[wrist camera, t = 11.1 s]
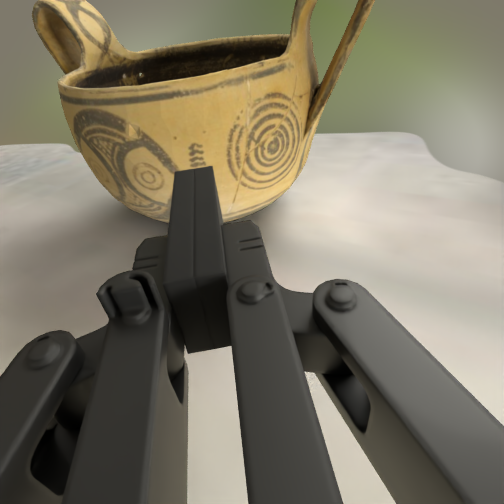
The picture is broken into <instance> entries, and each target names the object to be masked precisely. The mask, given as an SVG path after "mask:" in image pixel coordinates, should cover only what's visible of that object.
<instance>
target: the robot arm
mask: <svg viewBox="0 0 504 504" xmlns="http://www.w3.org/2000/svg"><path fill="white" fill-rule="evenodd" d="M134 260H135V262H134V264H133V268H132V269H133V270H132V271H127V272H123V273H120V274H117V275H116V276H114V277H112V278H110V279H108V280H107V281H106V282H105V283H104V284H103V285H102V286H101V287H100V288H99V290H98V292H97V293H96V295H97V297H98V299H99V301H100V303H101V304H102V306H103V308H104V310H105V312H106V314H107V315H108V317H109V322H108V324H107V325H106V326H104V327H102V328H100V329H98V330H96V331H93V332H91V333H89V334H86V335H84V336H82V337H79V338H77V339H75V338H74V336H73V335H72V334H71V333H69V332H67V331H62V330H58V331H51V332H48V333H45V334H43V335H40V336H38V337H37V338H35V339H34V340H32V341H31V342H29V343H28V344H26V345H25V346H24V347H23V349H22V350H21V351H20V352H19V353H18V354H17V355H16V356H15V358H14V359H13V360H12V362H11V363H10V364H9V366H8V367H7V368H6V370H5V371H4V372H3V374H2V375H1V376H0V504H187V449H188V368H187V364H186V361H185V358H184V344H185V346H186V349H187V352H188V354H190V353H195V352H200V351H206V350H211V349H217V348H222V347H227V346H232V354H233V363H234V373H235V382H236V391H237V401H238V410H239V419H240V429H241V438H242V447H243V456H244V466H245V475H246V484H247V494H248V503H249V504H343V502H342V498H341V495H340V491H339V488H338V485H337V481H336V478H335V474H334V471H333V468H332V464H331V461H330V458H329V454H328V451H327V447H326V444H325V441H324V437H323V434H322V430H321V427H320V424H319V420H318V417H317V414H316V410H315V407H314V403H313V400H312V397H311V393H310V390H309V386H308V383H307V380H306V376H305V373H304V371H306V372H314V373H315V374H316V376H317V378H318V379H319V381H320V382H321V384H322V386H323V387H324V389H325V390H326V392H327V394H328V395H329V397H330V398H331V400H332V402H333V403H334V405H335V406H336V408H337V409H338V411H339V413H340V414H341V416H342V417H343V419H344V421H345V422H346V424H347V425H348V427H349V429H350V430H351V432H352V433H353V435H354V437H355V438H356V440H357V441H358V443H359V445H360V446H361V448H362V449H363V451H364V453H365V454H366V456H367V457H368V459H369V461H370V462H371V464H372V465H373V467H374V468H375V470H376V472H377V473H378V475H379V476H380V478H381V480H382V481H383V483H384V484H385V486H386V488H387V489H388V491H389V492H390V494H391V496H392V497H393V499H394V500H395V502H396V504H504V426H503V425H502V424H501V423H500V422H499V421H498V420H497V419H496V418H495V417H494V416H493V415H492V414H491V413H490V412H489V411H488V410H487V409H486V408H485V407H484V406H483V405H482V404H481V403H480V402H479V401H478V400H477V399H476V398H475V397H474V396H473V395H472V394H471V393H470V392H469V391H468V390H467V389H466V388H465V387H464V386H463V385H462V384H461V383H460V382H459V381H458V380H457V379H456V378H455V377H454V376H453V375H452V374H451V373H450V372H449V371H448V370H447V369H446V368H445V367H444V366H443V365H442V364H441V363H440V362H439V361H438V360H437V359H436V358H434V357H433V356H432V355H431V354H430V353H429V352H428V351H427V350H426V349H425V348H424V347H423V346H422V345H421V344H420V343H419V342H418V341H417V340H416V339H415V338H414V337H413V336H412V335H411V334H410V333H409V332H408V331H407V330H406V329H405V328H404V327H403V326H402V325H401V324H400V323H399V322H398V321H397V320H396V319H395V318H394V317H393V316H392V315H391V314H390V313H389V312H388V311H387V310H386V309H385V308H384V307H383V306H382V305H381V304H380V303H379V302H378V301H377V300H376V299H375V298H374V297H373V296H372V295H371V294H370V293H369V292H368V291H367V290H366V289H365V288H363V287H362V286H361V285H359V284H358V283H355V282H352V281H349V280H342V279H334V280H330V281H326V282H324V283H322V284H320V285H319V286H318V287H317V288H316V289H315V291H314V292H313V293H304V292H295V291H291V290H288V289H285V288H284V287H282V286H280V285H279V284H278V283H277V282H276V281H275V279H274V277H273V275H272V271H271V268H270V264H269V261H268V257H267V254H266V250H265V247H264V244H263V240H262V237H261V233H260V230H259V227H258V226H257V225H256V224H254V223H253V222H252V221H251V220H247V221H242V222H236V223H230V224H224V223H223V218H222V212H221V207H220V202H219V197H218V191H217V186H216V181H215V176H214V171H213V166H207V167H201V168H194V169H188V170H182V171H176V172H175V173H174V182H173V191H172V200H171V209H170V218H169V227H168V235H165V236H159V237H153V238H147V239H145V240H144V241H143V242H142V243H141V245H140V246H139V247H138V248H137V251H136V255H135V259H134Z"/></svg>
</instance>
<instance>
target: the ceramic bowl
mask: <svg viewBox="0 0 504 504" xmlns="http://www.w3.org/2000/svg"><path fill="white" fill-rule="evenodd" d="M316 2H317V0H296V2H295V7H294V11H293V16H292V24H291V31H290V35H286V34H268V35H263V34H262V35H256V36H254V35H252V36H239V37H229V38H216V39H211V40H204V41H197V42H191V43H184V44H176V45H170V46H165V47H159V48H153V49H149V50H144V51H139V52H132V51H129V50H127V49H126V48H124V47H123V46H122V45H121V44H120V43H119V42H118V41H117V39H116V37H115V36H114V33H113V32H112V30H111V28H110V27H109V26H108V24H107V22H106V21H105V19H104V18H103V17H102V15H101V14H100V13H99V12H98V11H97V10H96V9H95V8H94V7H93V6H92V5H91V4H89V3H88V2H87V1H85V0H38V1H37V2H36V3H35V5H34V7H33V11H32V18H33V22H34V26H35V29H36V31H37V33H38V35H39V37H40V38H41V40H42V42H43V44H44V45H45V47H46V48H47V50H48V51H49V52H50V54H51V55H52V56H53V58H54V59H55V61H56V62H57V63H58V65H59V66H60V68H61V69H62V70H63V72H64V73H65V75H64V76H62V77H61V78H60V79H59V80H58V88H59V93H60V98H61V103H62V107H63V110H64V113H65V117H66V120H67V122H68V125H69V128H70V130H71V133H72V135H73V138H74V140H75V143H76V145H77V147H78V148H79V150H80V152H81V154H82V155H83V157H84V159H85V161H86V162H87V164H88V165H89V167H90V169H91V170H92V172H93V173H94V175H95V176H96V178H97V179H98V180H99V182H100V183H101V184H102V185H103V186H104V187H105V188H106V189H107V190H108V191H109V192H110V194H111V195H112V196H113V197H114V198H116V199H117V200H118V201H120V202H121V203H123V204H124V205H125V206H127V207H128V208H129V209H131V210H133V211H136V212H138V213H140V214H142V215H145V216H147V217H150V218H153V219H156V220H159V221H163V222H167V223H169V218H170V209H171V200H172V191H173V182H174V173H175V172H176V171H182V170H188V169H194V168H201V167H207V166H213V171H214V176H215V181H216V186H217V191H218V197H219V202H220V207H221V212H222V218H223V223H224V222H229V221H233V220H236V219H240V218H243V217H245V216H248V215H250V214H252V213H255V212H257V211H259V210H261V209H263V208H265V207H267V206H268V205H270V204H272V203H273V202H274V201H275V200H277V199H278V198H279V197H280V196H281V195H283V194H284V193H285V192H286V191H287V190H288V189H289V188H290V187H291V185H292V184H293V182H294V181H295V180H296V178H297V177H298V176H299V174H300V172H301V170H302V169H303V167H304V165H305V163H306V160H307V157H308V154H309V151H310V147H311V143H312V140H313V137H314V134H315V131H316V128H317V125H318V123H319V120H320V117H321V114H322V112H323V109H324V106H325V104H326V102H327V101H328V99H329V97H330V95H331V92H332V91H333V89H334V86H335V85H336V82H337V80H338V78H339V76H340V74H341V72H342V70H343V68H344V66H345V64H346V62H347V59H348V57H349V55H350V53H351V51H352V49H353V47H354V45H355V43H356V41H357V39H358V37H359V35H360V32H361V30H362V28H363V26H364V24H365V22H366V20H367V18H368V16H369V13H370V11H371V8H372V6H373V4H374V2H375V0H359V1H358V3H357V5H356V8H355V11H354V13H353V15H352V17H351V20H350V21H349V24H348V26H347V28H346V30H345V33H344V35H343V37H342V39H341V42H340V44H339V46H338V49H337V50H336V52H335V54H334V56H333V59H332V61H331V63H330V65H329V67H328V70H327V72H326V74H325V76H324V78H323V81H322V82H321V84H319V82H318V72H317V66H316V61H315V57H314V53H313V43H312V39H311V36H310V19H311V15H312V11H313V9H314V7H315V4H316ZM139 73H142V74H141V76H139Z"/></svg>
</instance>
